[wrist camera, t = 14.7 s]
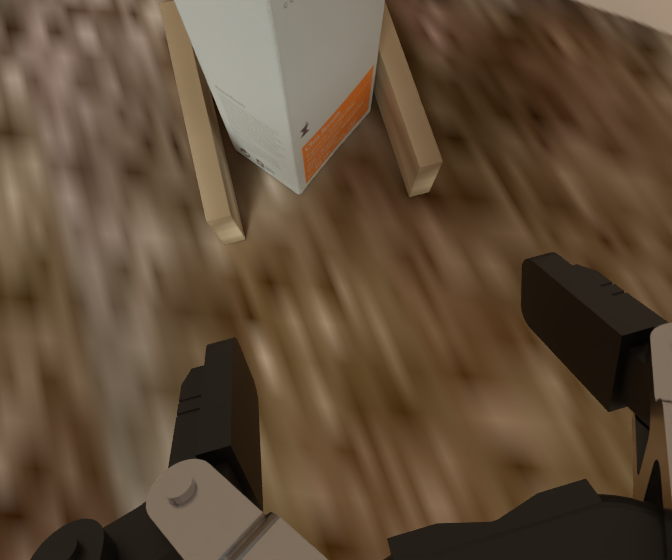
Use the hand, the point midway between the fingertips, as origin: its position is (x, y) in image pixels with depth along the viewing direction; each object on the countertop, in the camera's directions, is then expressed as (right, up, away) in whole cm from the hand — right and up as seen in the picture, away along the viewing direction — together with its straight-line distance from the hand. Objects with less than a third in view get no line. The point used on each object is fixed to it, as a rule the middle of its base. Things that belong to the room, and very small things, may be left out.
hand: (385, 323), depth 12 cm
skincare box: (-3, +9, +10) cm, 14 cm away
